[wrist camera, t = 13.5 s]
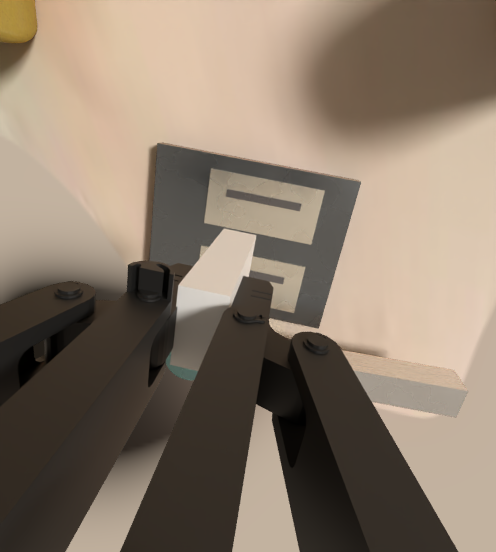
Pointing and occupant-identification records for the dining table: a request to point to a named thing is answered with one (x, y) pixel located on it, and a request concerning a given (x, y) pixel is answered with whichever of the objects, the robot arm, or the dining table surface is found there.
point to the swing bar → (395, 383)
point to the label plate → (255, 221)
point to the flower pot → (17, 20)
